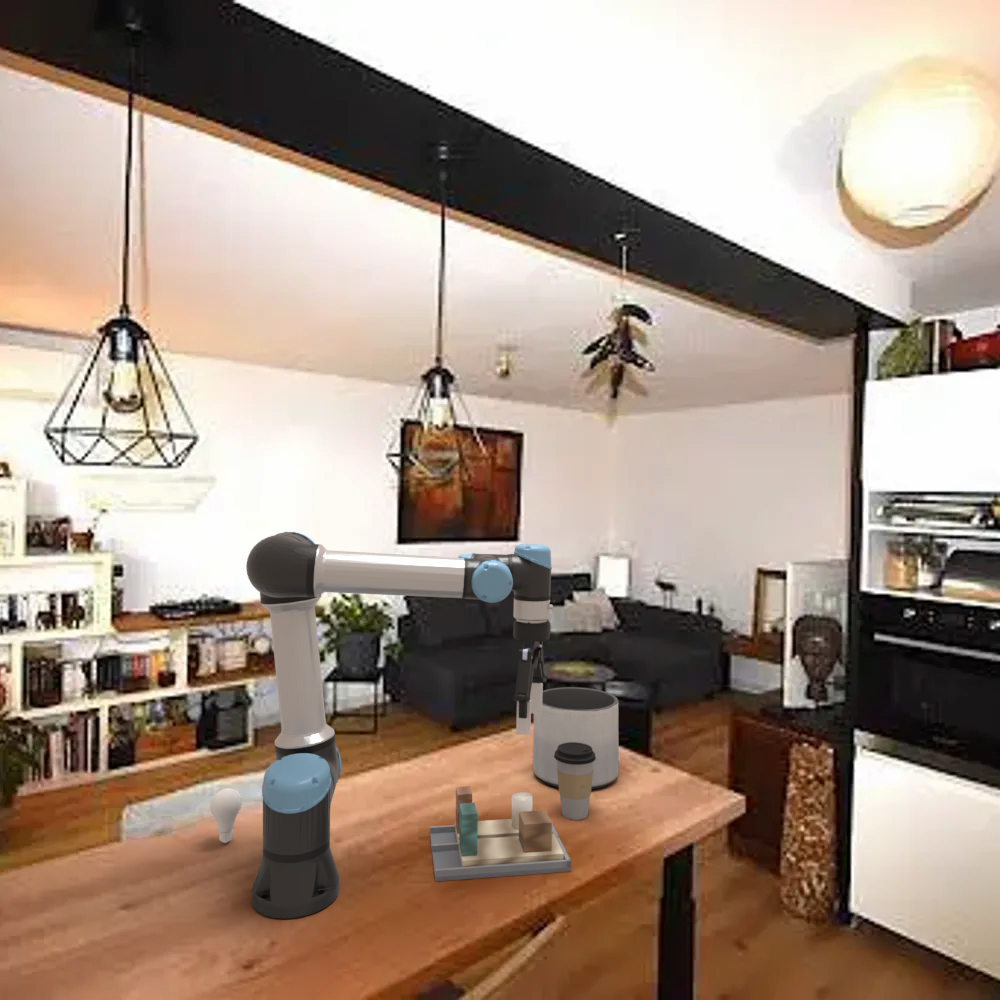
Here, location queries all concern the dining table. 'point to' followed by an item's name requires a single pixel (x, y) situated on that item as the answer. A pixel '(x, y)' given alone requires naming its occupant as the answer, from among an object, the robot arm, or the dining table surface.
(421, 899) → the dining table surface
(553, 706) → the planter
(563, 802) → the coffee cup
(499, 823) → the strip
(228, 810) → the lightbulb
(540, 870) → the lane board
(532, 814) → the walnut cube
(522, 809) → the stoneware cylinder
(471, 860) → the strip
